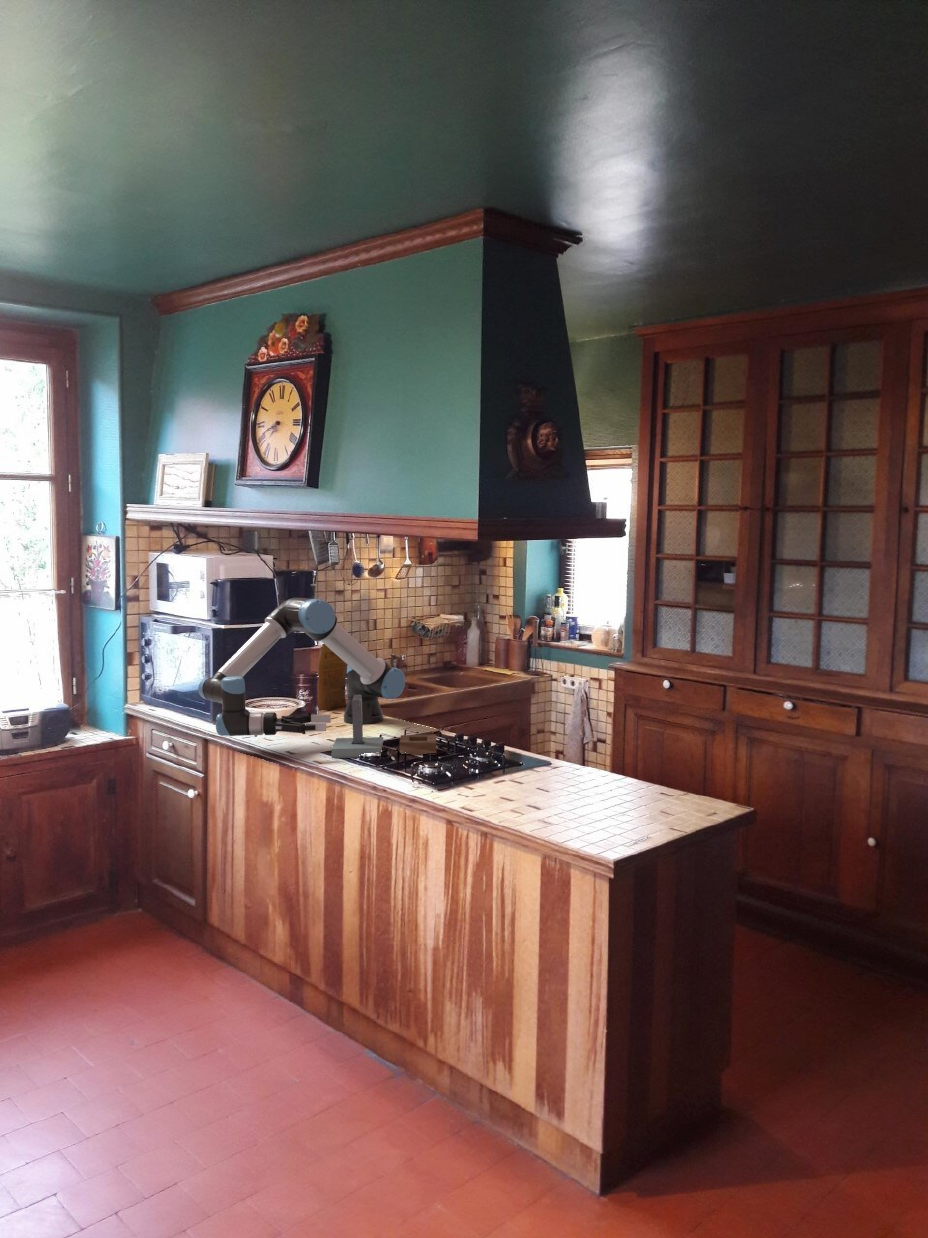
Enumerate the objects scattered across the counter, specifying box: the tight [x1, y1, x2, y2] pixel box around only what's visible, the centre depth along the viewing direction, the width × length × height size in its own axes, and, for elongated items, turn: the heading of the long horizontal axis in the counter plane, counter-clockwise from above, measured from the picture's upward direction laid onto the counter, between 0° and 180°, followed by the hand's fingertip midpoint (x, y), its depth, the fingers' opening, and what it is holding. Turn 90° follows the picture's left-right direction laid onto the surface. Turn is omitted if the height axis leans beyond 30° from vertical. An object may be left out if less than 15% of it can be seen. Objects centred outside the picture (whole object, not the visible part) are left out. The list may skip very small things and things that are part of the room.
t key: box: [352, 695, 364, 744], centre depth 331 cm, size 10×3×18 cm, turn 2°
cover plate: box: [331, 736, 385, 759], centre depth 332 cm, size 16×16×3 cm
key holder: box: [399, 734, 437, 754], centre depth 332 cm, size 12×12×4 cm
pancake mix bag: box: [317, 643, 348, 711], centre depth 408 cm, size 7×19×28 cm, turn 142°
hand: (328, 722), depth 331 cm, fingers open, 13 cm apart
